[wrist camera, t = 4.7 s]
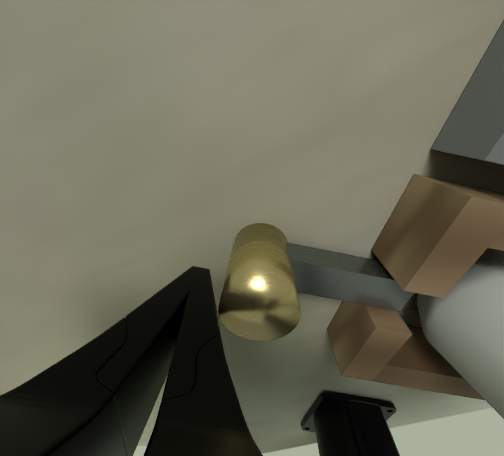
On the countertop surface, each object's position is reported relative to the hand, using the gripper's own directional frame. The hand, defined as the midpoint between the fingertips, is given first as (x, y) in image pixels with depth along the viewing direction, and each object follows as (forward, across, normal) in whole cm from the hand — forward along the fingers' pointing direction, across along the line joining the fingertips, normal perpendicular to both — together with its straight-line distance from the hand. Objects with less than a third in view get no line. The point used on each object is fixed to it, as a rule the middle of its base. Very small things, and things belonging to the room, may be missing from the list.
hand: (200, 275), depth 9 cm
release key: (+3, -6, 0) cm, 6 cm away
